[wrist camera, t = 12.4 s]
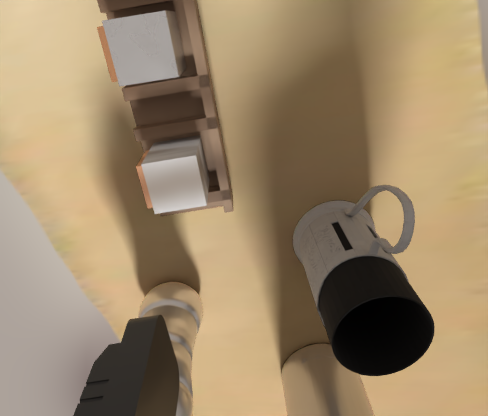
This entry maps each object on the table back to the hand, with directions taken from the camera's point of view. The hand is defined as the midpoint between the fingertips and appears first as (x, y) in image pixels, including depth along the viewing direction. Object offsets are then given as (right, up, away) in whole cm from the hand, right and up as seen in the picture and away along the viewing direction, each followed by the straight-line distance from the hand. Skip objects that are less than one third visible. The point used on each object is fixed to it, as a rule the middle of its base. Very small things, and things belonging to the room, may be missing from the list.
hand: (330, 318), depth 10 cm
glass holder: (+8, +2, +33) cm, 34 cm away
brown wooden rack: (-8, +12, +27) cm, 31 cm away
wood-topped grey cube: (-9, +16, +23) cm, 30 cm away
